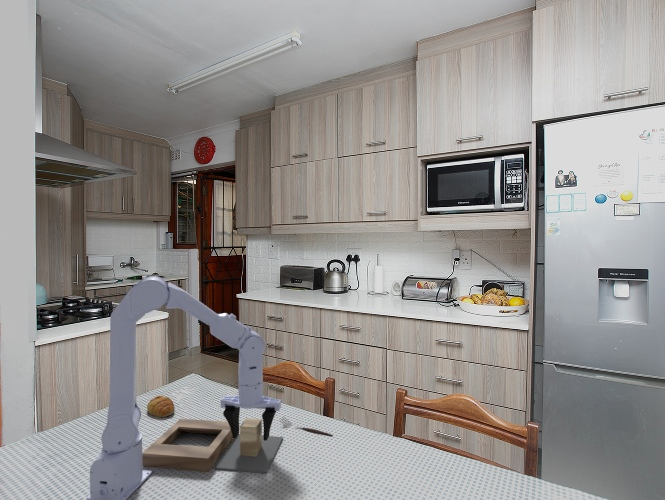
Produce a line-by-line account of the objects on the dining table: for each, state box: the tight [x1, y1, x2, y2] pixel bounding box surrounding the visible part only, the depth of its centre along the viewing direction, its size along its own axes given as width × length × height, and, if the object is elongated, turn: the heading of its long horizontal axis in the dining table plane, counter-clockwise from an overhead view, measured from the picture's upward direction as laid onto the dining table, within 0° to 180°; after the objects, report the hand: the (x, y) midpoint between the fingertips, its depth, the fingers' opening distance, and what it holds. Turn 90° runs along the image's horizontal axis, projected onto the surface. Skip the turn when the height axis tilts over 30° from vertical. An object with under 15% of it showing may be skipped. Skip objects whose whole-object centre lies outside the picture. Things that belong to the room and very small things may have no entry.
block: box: [239, 417, 263, 456], centre depth 86 cm, size 4×4×7 cm
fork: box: [279, 416, 334, 437], centre depth 97 cm, size 3×16×2 cm, turn 65°
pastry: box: [146, 395, 176, 418], centre depth 108 cm, size 9×7×4 cm
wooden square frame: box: [142, 418, 234, 472], centre depth 88 cm, size 16×16×3 cm
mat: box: [214, 433, 284, 474], centre depth 86 cm, size 14×12×1 cm
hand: (251, 437), depth 86 cm, fingers open, 7 cm apart
